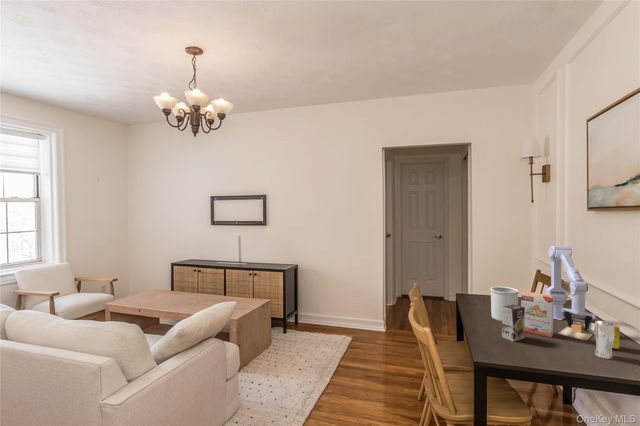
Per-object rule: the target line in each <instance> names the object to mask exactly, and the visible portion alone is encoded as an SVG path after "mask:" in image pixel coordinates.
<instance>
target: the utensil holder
mask: <svg viewBox="0 0 640 426" xmlns="http://www.w3.org/2000/svg"><path fill="white" fill-rule="evenodd" d="M490 303H491V304H490V306H491V307H490V309H491V310H490V312H491V318H492V319H495V320H496V321H500V322H502V320H503V306H508V305H518V306H519V290H518V289H517V288H514V287H510V286H498V285H497V286H491V287H490Z"/></svg>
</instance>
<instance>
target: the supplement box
mask: <svg viewBox="0 0 640 426" xmlns="http://www.w3.org/2000/svg"><path fill="white" fill-rule="evenodd" d="M612 350H614V351H619V350H620V326H617V325H615V324H614V341H613V345H612Z"/></svg>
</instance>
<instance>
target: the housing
mask: <svg viewBox="0 0 640 426" xmlns="http://www.w3.org/2000/svg"><path fill="white" fill-rule="evenodd" d="M575 322H578V323H582V324H585V319H580V318H575V317H571V327H569V328H572V324H574V323H575ZM591 323H592V321H590V323H589V325H588V328H587V331H585V332H590V331H591Z"/></svg>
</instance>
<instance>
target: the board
mask: <svg viewBox="0 0 640 426" xmlns="http://www.w3.org/2000/svg"><path fill="white" fill-rule="evenodd" d="M575 323H578V322H575ZM578 324H580V323H578ZM594 327H595V322H594V323H593V322H591V331H590V332H585V324H584V331H583V332H582V333H578V332H574V331H572V328H569V327H568V325H567V326H566V327H565V328H563V329H562V330H561V331H559V332H557V334H558V335H562V336H564V337H569V338H574V339H579V340H582V341H585V342H587V341H588V340H589V339H590V338H591V337H592V336H593V335H594ZM594 336H595V335H594Z"/></svg>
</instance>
